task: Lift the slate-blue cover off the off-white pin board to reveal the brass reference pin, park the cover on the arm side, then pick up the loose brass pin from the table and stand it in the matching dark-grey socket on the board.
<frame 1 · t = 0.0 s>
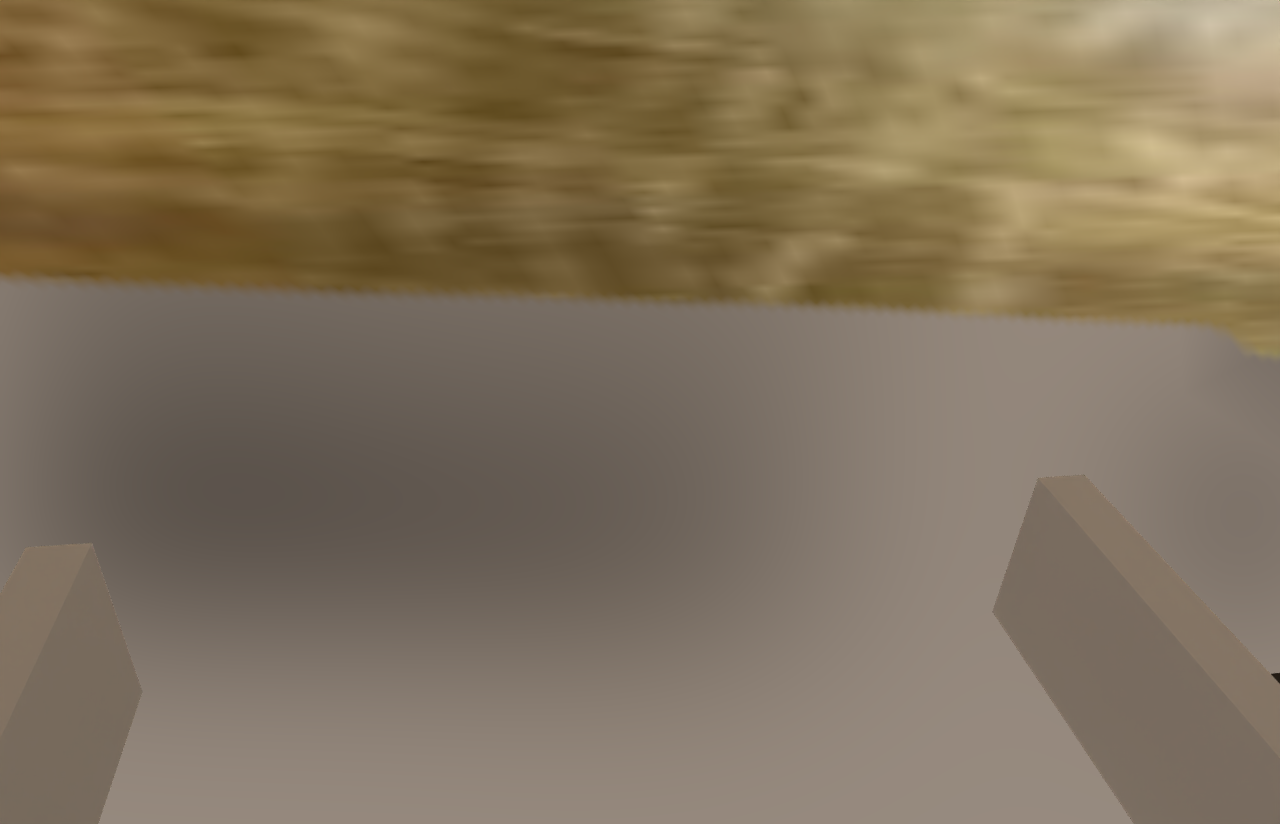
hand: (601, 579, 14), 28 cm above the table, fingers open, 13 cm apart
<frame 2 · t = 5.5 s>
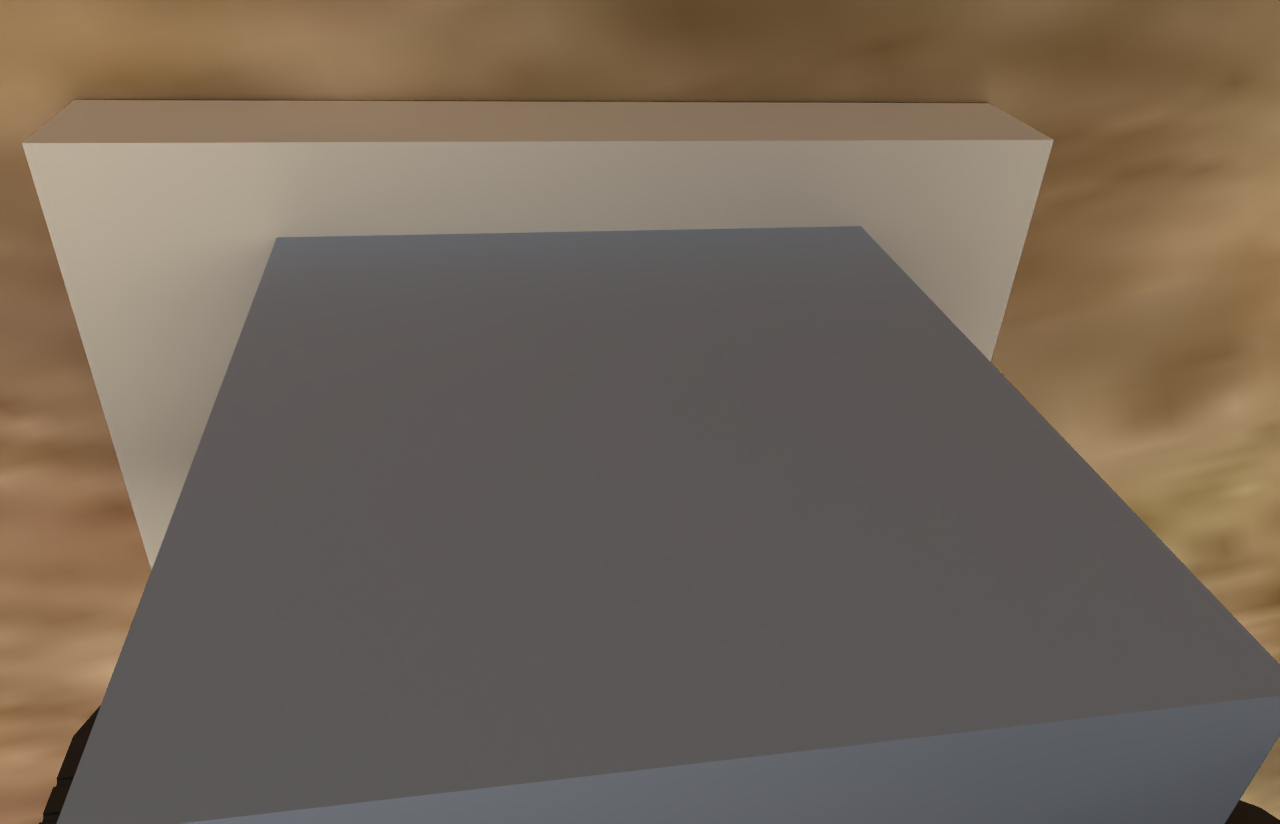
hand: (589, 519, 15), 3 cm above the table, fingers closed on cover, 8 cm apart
cover: (579, 468, 16), point 2 cm above the table, touching gripper, pin board
pin board: (564, 585, 20), on the table
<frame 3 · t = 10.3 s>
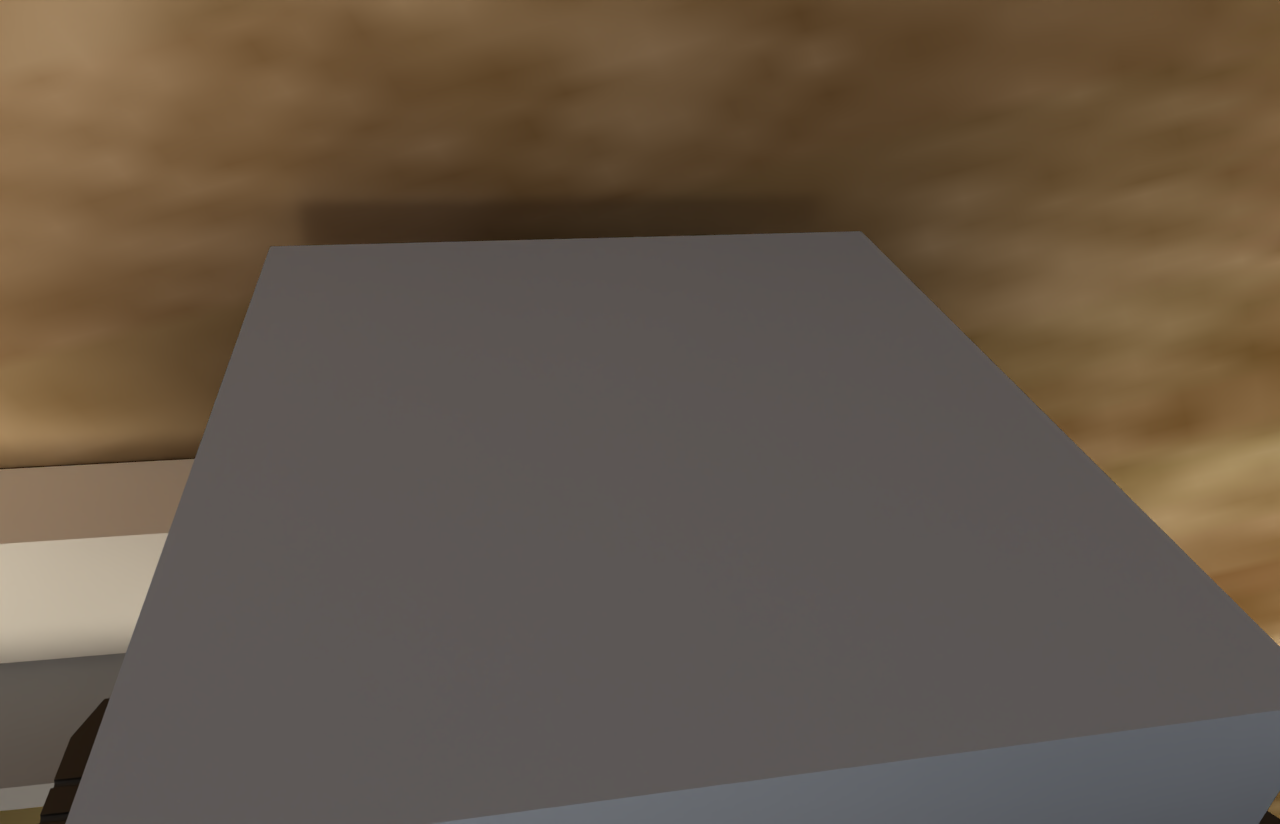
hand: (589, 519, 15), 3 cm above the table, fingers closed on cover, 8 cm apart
cover: (578, 478, 16), point 2 cm above the table, touching gripper, pin board
when the fingers open (6 cm above the table, at t = 19.5 s): cover stays where it is, resting on pin board.
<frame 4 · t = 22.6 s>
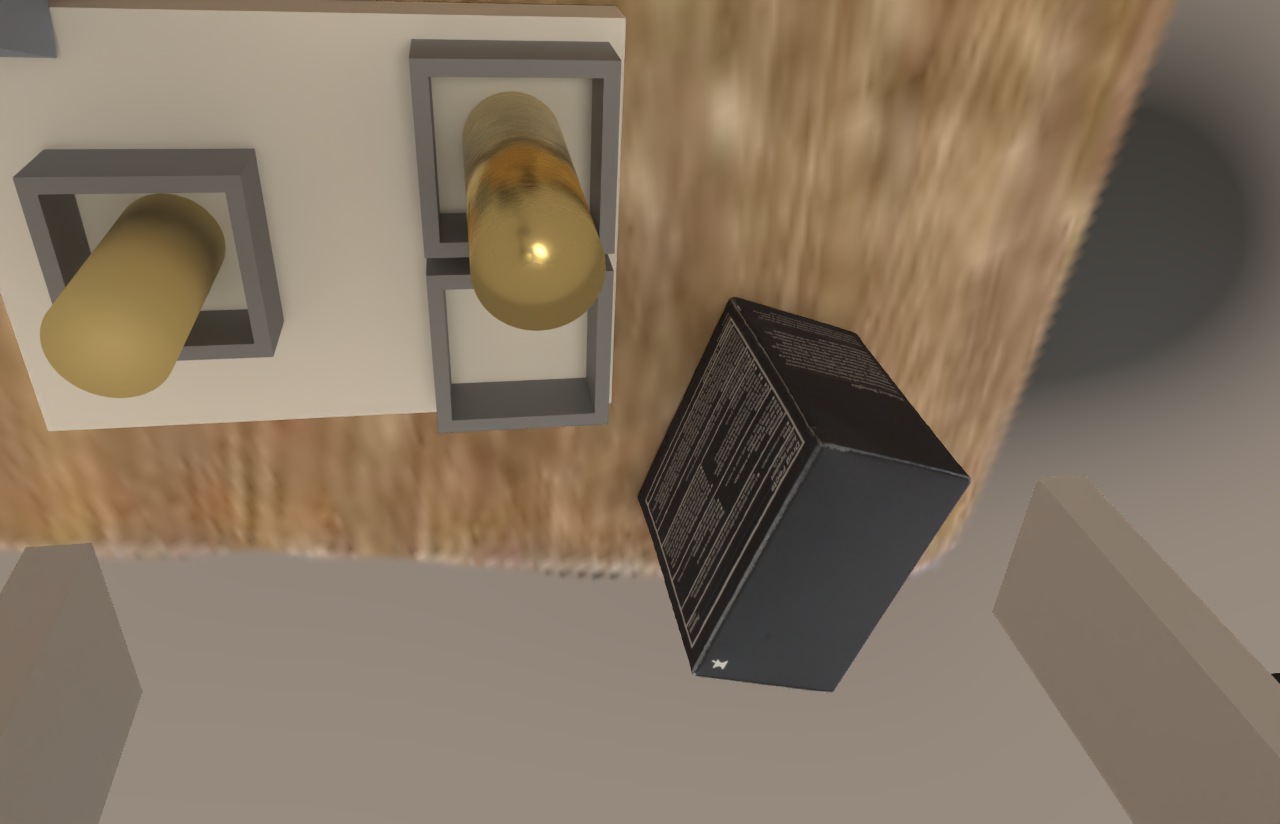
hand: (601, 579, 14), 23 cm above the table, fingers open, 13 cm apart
small box: (745, 416, 41), on the table
brass pin: (512, 141, 31), point 2 cm above the table, touching pin board
pin board: (324, 216, 33), on the table
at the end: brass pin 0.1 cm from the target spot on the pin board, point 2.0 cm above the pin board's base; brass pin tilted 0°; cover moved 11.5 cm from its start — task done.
